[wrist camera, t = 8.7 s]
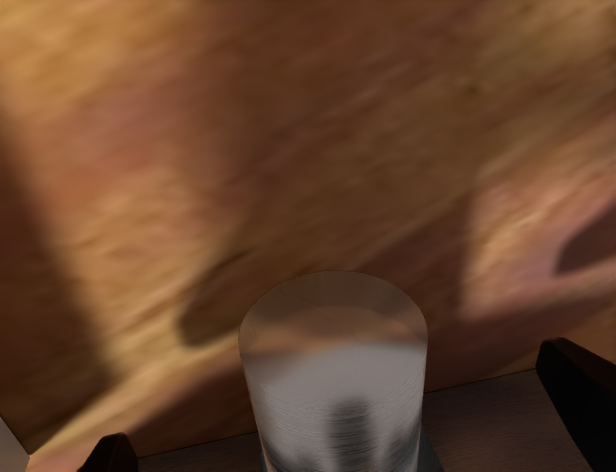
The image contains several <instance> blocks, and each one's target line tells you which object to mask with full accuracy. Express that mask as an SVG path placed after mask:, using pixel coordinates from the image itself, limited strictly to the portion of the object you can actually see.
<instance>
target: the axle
mask: <svg viewBox="0 0 616 472" xmlns="http://www.w3.org/2000/svg"><path fill="white" fill-rule="evenodd" d="M238 344H239V352H240V356H241V361H242V365H243V369H244V373H245V378H246V382H247V386H248V390H249V395H250V399H251V403H252V407H253V412H254V416H255V420H256V424H257V429H258V433H259V437H260V441H261V446H262V450H263V454H264V458H265V463H266V467H267V471H268V472H417V462H418V451H419V439H420V427H421V415H422V403H423V391H424V380H425V368H426V356H427V344H428V331H427V325H426V321H425V319H424V316H423V314H422V312H421V310H420V309H419V307H418V306H417V304H416V303H415V302H414V301H413V299H411V298H410V297H409V296H408V295H407V294H406V293H405V292H404V291H402V290H401V289H399V288H398V287H396V286H395V285H393V284H391V283H389V282H387V281H385V280H383V279H380V278H378V277H375V276H372V275H368V274H364V273H358V272H352V271H322V272H315V273H309V274H305V275H301V276H298V277H295V278H292V279H289V280H287V281H285V282H283V283H281V284H279V285H277V286H275V287H274V288H272V289H270V290H269V291H268V292H266V293H265V294H264V295H262V296H261V297H260V298H259V299H258V300H257V301H256V302H255V303H254V304H253V305H252V306H251V308H250V309H249V311H248V312H247V314H246V315H245V317H244V319H243V322H242V324H241V327H240V331H239V338H238Z"/></svg>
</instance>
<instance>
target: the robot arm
mask: <svg viewBox="0 0 616 472" xmlns="http://www.w3.org/2000/svg"><path fill="white" fill-rule="evenodd" d="M536 372H537V375H538V377H539V379H540V381H541V383H542V385H543V387H544V388H545V390H546V392H547V394H548V396H549V398H550V400H551V401H552V403H553V405H554V407H555V409H556V411H557V413H558V414H559V416H560V418H561V420H562V422H563V424H564V426H565V427H566V429H567V431H568V433H569V434H570V436H571V438H572V440H573V441H574V443H575V444H576V446H577V448H578V449H579V451H580V452H581V454H582V455H583V457H584V458H585V460H586V461H587V463H588V464H589V466H590V467H591V469H592V470H593V472H616V365H615V364H613V363H612V362H610V361H608V360H606V359H604V358H602V357H600V356H598V355H596V354H594V353H592V352H591V351H589V350H587V349H585V348H583V347H581V346H579V345H577V344H575V343H573V342H571V341H570V340H568V339H565V338H563V337H556V338H551V339H547V340H544V341H543V342H542V343H541V346H540V350H539V354H538V357H537V361H536ZM79 472H138V458H137V455H136V453H135V451H134V449H133V447H132V445H131V443H130V441H129V439H128V437H127V435H126V434H125V433H123V432H120V433H115V434H111V435H106V436H104V437H103V438H101V439H100V441H99V442H98V443H97V445H96V446H95V448H94V449H93V451H92V452H91V454H90V455H89V457H88V458H87V460H86V461H85V463H84V464H83V466H82V467H81V469H80V470H79Z"/></svg>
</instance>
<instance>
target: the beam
mask: <svg viewBox="0 0 616 472" xmlns="http://www.w3.org/2000/svg"><path fill="white" fill-rule="evenodd" d="M138 472H268V471H267V467H266V463H265V458H264V454H263V450H262V446H261V441H260V437H259V433H258V432H255V433H250V434H246V435H241V436H237V437H232V438H228V439H224V440H219V441H215V442H210V443H206V444H202V445H197V446H193V447H188V448H184V449H180V450H175V451H171V452H166V453H162V454H157V455H153V456H149V457H144V458H140V459H138ZM417 472H593V470H592V469H591V467H590V466H589V464H588V463H587V461H586V460H585V458H584V457H583V455H582V454H581V452H580V451H579V449H578V448H577V446H576V444H575V443H574V441H573V440H572V438H571V436H570V434H569V433H568V431H567V429H566V427H565V426H564V424H563V422H562V420H561V418H560V416H559V414H558V413H557V411H556V409H555V407H554V405H553V403H552V401H551V400H550V398H549V396H548V394H547V392H546V390H545V388H544V387H543V385H542V383H541V381H540V379H539V377H538V375H537V372H536V369H533V370H528V371H524V372H519V373H515V374H511V375H506V376H502V377H497V378H493V379H488V380H484V381H480V382H475V383H471V384H466V385H462V386H458V387H453V388H449V389H444V390H440V391H436V392H431V393H427V394H423V403H422V415H421V427H420V439H419V451H418V462H417Z"/></svg>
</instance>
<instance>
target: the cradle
mask: <svg viewBox="0 0 616 472" xmlns="http://www.w3.org/2000/svg"><path fill="white" fill-rule="evenodd" d="M29 459H30V457H29V455H28V454H27V452H26V451H25V450H24V448H23V447H22V446H21V444H20V443H19V442H18V440H17V439H16V438H15V436H14V435H13V433H12V432H11V431H10V429H9V428H8V427H7V425H6V424H5V423H4V421H3V420H2V418H1V417H0V472H25V471H26V468H27V465H28V462H29Z"/></svg>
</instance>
